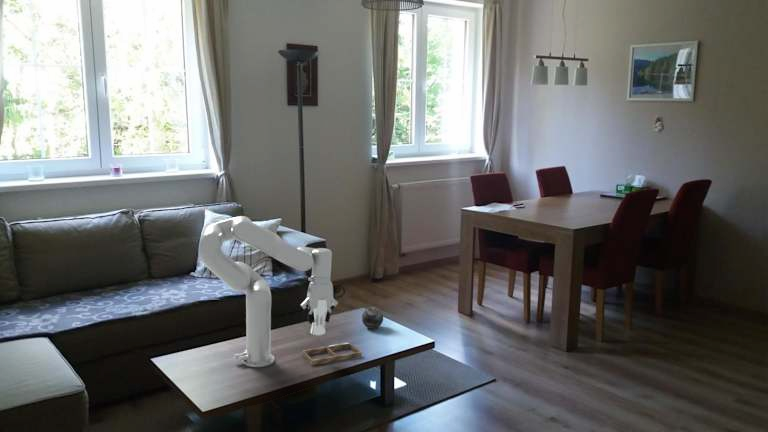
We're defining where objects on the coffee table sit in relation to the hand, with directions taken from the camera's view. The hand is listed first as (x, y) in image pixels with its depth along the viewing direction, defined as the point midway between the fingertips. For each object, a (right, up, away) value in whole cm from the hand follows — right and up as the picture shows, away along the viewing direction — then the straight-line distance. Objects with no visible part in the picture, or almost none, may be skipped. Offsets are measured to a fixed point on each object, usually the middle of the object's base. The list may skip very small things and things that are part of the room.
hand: (318, 321), depth 251 cm
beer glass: (0, -5, +1) cm, 5 cm away
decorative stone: (+21, -10, +39) cm, 45 cm away
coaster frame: (+5, -15, +5) cm, 17 cm away
